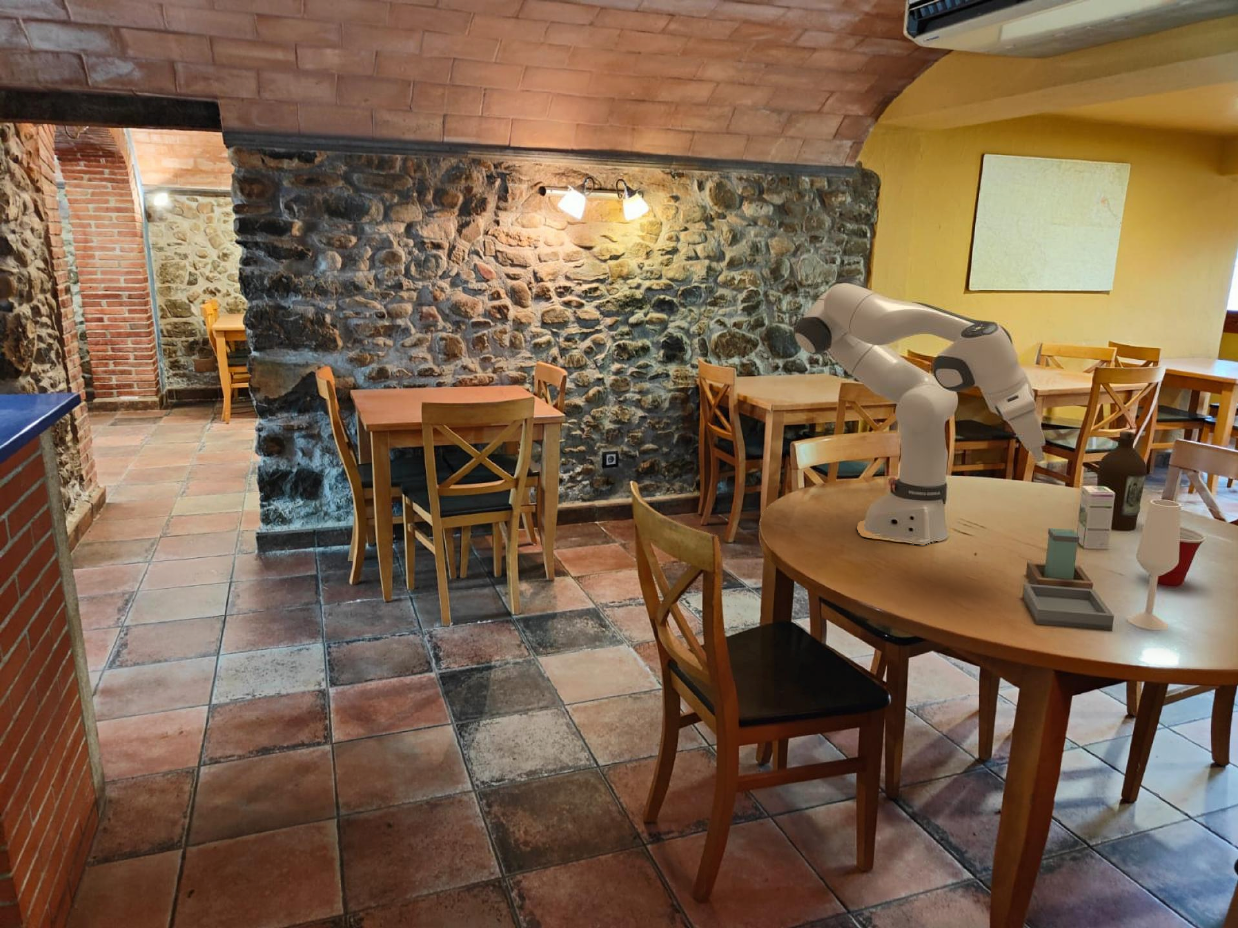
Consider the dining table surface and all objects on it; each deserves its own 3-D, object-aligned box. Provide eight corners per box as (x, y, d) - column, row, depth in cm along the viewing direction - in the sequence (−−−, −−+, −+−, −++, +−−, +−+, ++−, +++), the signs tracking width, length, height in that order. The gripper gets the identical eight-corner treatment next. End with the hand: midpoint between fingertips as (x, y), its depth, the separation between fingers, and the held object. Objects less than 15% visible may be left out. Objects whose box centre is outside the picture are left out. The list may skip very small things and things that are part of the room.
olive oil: (1082, 522, 210) (1093, 430, 204) (1108, 516, 215) (1120, 426, 209) (1121, 534, 201) (1134, 438, 195) (1147, 527, 205) (1161, 433, 199)
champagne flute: (1122, 613, 156) (1138, 496, 150) (1161, 616, 154) (1179, 499, 149) (1132, 627, 150) (1150, 507, 144) (1173, 631, 148) (1193, 509, 142)
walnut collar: (1036, 592, 167) (1037, 579, 166) (1025, 574, 177) (1027, 561, 176) (1091, 596, 164) (1093, 583, 163) (1077, 578, 174) (1079, 565, 173)
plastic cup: (1200, 595, 163) (1209, 541, 161) (1138, 586, 169) (1145, 532, 166) (1196, 578, 172) (1204, 526, 169) (1137, 569, 178) (1144, 518, 175)
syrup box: (1109, 550, 190) (1117, 492, 187) (1082, 548, 191) (1089, 491, 188) (1100, 542, 196) (1107, 485, 192) (1074, 540, 197) (1081, 485, 193)
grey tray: (1036, 623, 153) (1037, 609, 152) (1022, 597, 165) (1023, 583, 164) (1112, 630, 149) (1114, 615, 148) (1092, 602, 161) (1094, 589, 160)
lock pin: (1047, 588, 169) (1053, 535, 166) (1042, 580, 173) (1048, 528, 170) (1072, 590, 167) (1079, 537, 165) (1066, 582, 172) (1073, 529, 169)
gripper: (984, 388, 173) (1009, 442, 176) (1003, 416, 155) (1030, 475, 157) (1014, 375, 171) (1038, 430, 174) (1036, 402, 152) (1063, 463, 155)
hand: (1035, 452), depth 165 cm, fingers open, 8 cm apart
